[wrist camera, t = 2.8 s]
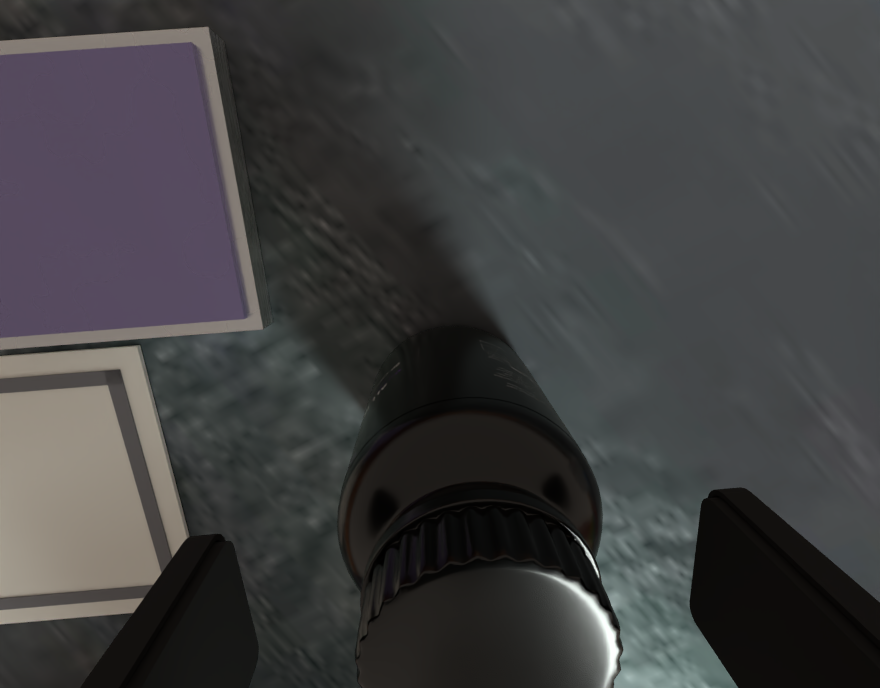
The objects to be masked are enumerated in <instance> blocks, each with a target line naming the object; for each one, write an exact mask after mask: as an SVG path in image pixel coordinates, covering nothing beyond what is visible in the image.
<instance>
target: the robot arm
mask: <svg viewBox="0 0 880 688" xmlns="http://www.w3.org/2000/svg"><path fill="white" fill-rule="evenodd" d="M690 610H691V614H692V617H693V619H694V621H695V623H696V625H697V626H698V628H699V629H700V631H701V632H702V634H703V635H704V637H705V638H706V640H707V641H708V643H709V644H710V646H711V647H712V649H713V650H714V652H715V653H716V655H717V656H718V658H719V659H720V661H721V662H722V664H723V665H724V667H725V668H726V670H727V671H728V673H729V674H730V676H731V677H732V679H733V680H734V682H735V683H736V685H737V686H738V688H880V602H878V601H877V600H876V599H875V598H874V597H873V596H871V595H870V594H869V593H868V592H867V591H866V590H864V589H863V588H862V587H861V586H860V585H859V584H857V583H856V582H855V581H854V580H853V579H852V578H850V577H849V576H848V575H847V574H846V573H845V572H843V571H842V570H841V569H840V568H839V567H838V566H836V565H835V564H834V563H833V562H832V561H831V560H829V559H828V558H827V557H826V556H825V555H824V554H822V553H821V552H820V551H819V550H818V549H817V548H815V547H814V546H813V545H812V544H811V543H810V542H808V541H807V540H806V539H805V538H804V537H803V536H801V535H800V534H799V533H798V532H797V531H796V530H794V529H793V528H792V527H791V526H790V525H789V524H787V523H786V522H785V521H784V520H783V519H782V518H780V517H779V516H778V515H777V514H776V513H775V512H773V511H772V510H771V509H770V508H769V507H768V506H766V505H765V504H764V503H763V502H762V501H761V500H759V499H758V498H757V497H756V496H755V495H754V494H752V493H751V492H750V491H748V490H747V489H745V488H730V489H718V490H713V491H711V492H710V493H709V495H708V498H706V499H704V500H703V501H702V504H701V511H700V519H699V528H698V536H697V544H696V553H695V561H694V570H693V578H692V586H691V595H690ZM257 660H258V641H257V637H256V633H255V629H254V625H253V621H252V617H251V613H250V609H249V605H248V601H247V597H246V593H245V589H244V585H243V581H242V577H241V573H240V569H239V565H238V561H237V557H236V553H235V549H234V546H233V543H232V542H231V541H225V539H224V537H223V536H222V535H221V534H212V535H201V536H191V537H188V538H187V539H186V540H185V541H184V542H183V543H182V545H181V546H180V548H179V549H178V551H177V552H176V553H175V555H174V556H173V558H172V559H171V560H170V562H169V563H168V565H167V566H166V568H165V569H164V570H163V572H162V573H161V575H160V576H159V577H158V579H157V580H156V582H155V583H154V585H153V586H152V587H151V589H150V590H149V592H148V593H147V594H146V596H145V597H144V599H143V600H142V602H141V603H140V604H139V606H138V607H137V609H136V610H135V611H134V613H133V614H132V616H131V617H130V619H129V620H128V621H127V623H126V624H125V626H124V627H123V628H122V630H121V631H120V632H119V634H118V635H117V636H116V638H115V639H114V641H113V642H112V643H111V645H110V646H109V648H108V649H107V651H106V652H105V653H104V655H103V656H102V658H101V659H100V660H99V662H98V663H97V665H96V666H95V668H94V669H93V670H92V672H91V673H90V675H89V676H88V677H87V679H86V680H85V682H84V683H83V685H82V686H81V687H80V688H248V687H249V684H250V682H251V679H252V676H253V673H254V670H255V668H256V664H257Z"/></svg>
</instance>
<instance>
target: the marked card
mask: <svg viewBox="0 0 880 688" xmlns="http://www.w3.org/2000/svg"><path fill="white" fill-rule="evenodd" d="M188 537H190V536H189V532H188V528H187V524H186V521H185V517H184V513H183V509H182V505H181V501H180V497H179V494H178V490H177V486H176V482H175V478H174V474H173V470H172V466H171V463H170V459H169V455H168V451H167V447H166V443H165V439H164V436H163V432H162V428H161V424H160V420H159V416H158V412H157V409H156V405H155V401H154V397H153V393H152V389H151V385H150V382H149V378H148V374H147V370H146V366H145V362H144V358H143V355H142V351H141V347H140V345H133V346H120V347H107V348H95V349H82V350H69V351H56V352H43V353H30V354H17V355H5V356H0V624H10V623H22V622H33V621H45V620H57V619H68V618H80V617H91V616H103V615H114V614H126V613H134V611H135V610H136V609H137V607H138V606H139V604H140V603H141V602H142V600H143V599H144V597H145V596H146V594H147V593H148V592H149V590H150V589H151V587H152V586H153V585H154V583H155V582H156V580H157V579H158V577H159V576H160V575H161V573H162V572H163V570H164V569H165V568H166V566H167V565H168V563H169V562H170V560H171V559H172V558H173V556H174V555H175V553H176V552H177V551H178V549H179V548H180V546H181V545H182V543H183V542H184V541H185V540H186V539H187V538H188Z"/></svg>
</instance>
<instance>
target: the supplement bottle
mask: <svg viewBox="0 0 880 688" xmlns="http://www.w3.org/2000/svg"><path fill="white" fill-rule="evenodd" d="M602 519H603V513H602V502H601V497H600V492H599V488H598V485H597V482H596V478H595V476H594V474H593V472H592V470H591V468H590V466H589V464H588V462H587V460H586V458H585V456H584V455H583V453H582V451H581V450H580V448H579V447H578V445H577V443H576V442H575V440H574V439H573V437H572V436H571V434H570V433H569V431H568V430H567V428H566V427H565V425H564V424H563V422H562V420H561V419H560V417H559V416H558V414H557V413H556V411H555V410H554V408H553V407H552V405H551V404H550V402H549V401H548V399H547V398H546V396H545V395H544V393H543V392H542V390H541V388H540V387H539V385H538V384H537V382H536V381H535V379H534V378H533V376H532V375H531V373H530V372H529V370H528V369H527V367H526V366H525V365H524V363H523V362H522V360H521V359H520V358H519V356H518V355H517V354H516V353H515V352H514V351H513V350H512V349H511V348H510V347H509V346H508V345H507V344H505V343H504V342H503V341H501V340H500V339H499V338H497V337H495V336H493V335H492V334H489V333H487V332H485V331H482V330H479V329H476V328H471V327H465V326H443V327H437V328H433V329H429V330H426V331H423V332H421V333H419V334H416V335H414V336H412V337H411V338H409V339H408V340H406V341H405V342H403V343H402V344H401V345H399V346H398V347H397V348H396V349H395V350H394V351H393V352H392V353H391V354H390V356H389V357H388V358H387V359H386V361H385V362H384V364H383V366H382V367H381V369H380V371H379V373H378V375H377V378H376V380H375V383H374V386H373V389H372V392H371V395H370V398H369V402H368V405H367V408H366V411H365V415H364V418H363V421H362V424H361V428H360V431H359V434H358V437H357V441H356V444H355V447H354V451H353V454H352V457H351V460H350V464H349V467H348V470H347V473H346V477H345V480H344V483H343V487H342V491H341V496H340V501H339V507H338V515H337V531H338V540H339V546H340V550H341V553H342V557H343V560H344V562H345V565H346V567H347V570H348V572H349V574H350V576H351V578H352V580H353V581H354V583H355V585H356V586H357V588H358V589H359V591H360V592H361V599H360V605H361V617H360V624H359V630H358V636H357V642H356V649H355V661H356V664H357V667H358V668H357V681H358V683H359V685H360V686H361V687H362V688H614V679H615V678H616V676H617V675H618V673H619V672H620V670H621V667H620V662H619V659H620V656H621V655H622V652H623V646H622V642H621V639H620V626H619V622H618V619H617V617H616V615H615V613H614V610H613V608H612V606H611V603H610V601H609V598H608V596H607V594H606V592H605V590H604V587H603V585H602V581H601V575H600V571H599V568H598V565H597V562H596V560H595V559H596V556H597V552H598V548H599V545H600V540H601V533H602Z"/></svg>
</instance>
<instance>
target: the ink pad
mask: <svg viewBox="0 0 880 688" xmlns="http://www.w3.org/2000/svg"><path fill="white" fill-rule="evenodd" d="M272 323H273V317H272V312H271V306H270V300H269V294H268V289H267V283H266V277H265V271H264V266H263V260H262V254H261V249H260V243H259V237H258V231H257V226H256V220H255V214H254V208H253V203H252V197H251V191H250V186H249V180H248V174H247V168H246V163H245V157H244V151H243V145H242V140H241V134H240V128H239V122H238V117H237V111H236V105H235V100H234V94H233V88H232V82H231V77H230V71H229V65H228V59H227V54H226V48H225V42H224V41H223V40H222V39H221V38H220V37H219V36H218V35H217V34H216V33H214V32H213V31H212V30H211V29H210V28H209V27H199V28H184V29H169V30H154V31H139V32H124V33H109V34H95V35H80V36H65V37H50V38H35V39H20V40H6V41H0V350H3V349H16V348H29V347H42V346H55V345H68V344H81V343H93V342H106V341H119V340H132V339H145V338H158V337H171V336H184V335H197V334H210V333H222V332H235V331H248V330H261V329H264V328H266V327H267V326H269V325H270V324H272Z"/></svg>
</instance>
